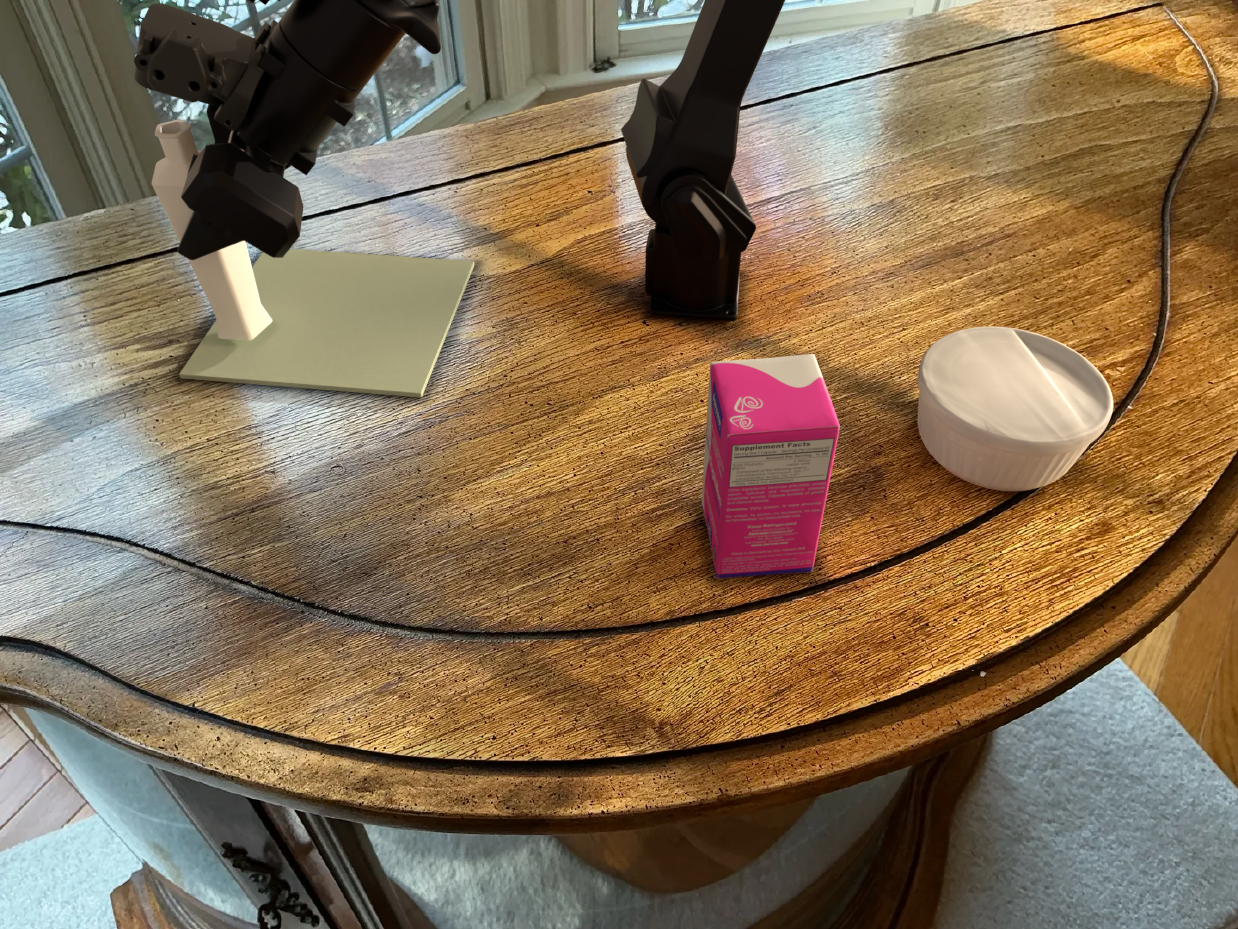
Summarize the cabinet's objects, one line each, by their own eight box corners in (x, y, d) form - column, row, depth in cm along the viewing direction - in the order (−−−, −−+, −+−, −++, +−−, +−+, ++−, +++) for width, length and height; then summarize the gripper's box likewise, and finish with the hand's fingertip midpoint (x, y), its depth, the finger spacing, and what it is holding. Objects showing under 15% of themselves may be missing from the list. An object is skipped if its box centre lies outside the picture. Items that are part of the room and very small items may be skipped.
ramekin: (1118, 448, 63) (1150, 385, 59) (1021, 536, 57) (1049, 472, 54) (969, 365, 69) (989, 302, 65) (868, 438, 63) (883, 374, 60)
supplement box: (696, 506, 59) (708, 356, 51) (793, 500, 59) (821, 350, 51) (711, 582, 55) (726, 432, 47) (815, 575, 55) (848, 425, 47)
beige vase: (219, 353, 68) (140, 154, 57) (204, 319, 71) (126, 123, 60) (284, 332, 70) (219, 135, 59) (267, 300, 72) (202, 105, 62)
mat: (474, 265, 77) (474, 261, 77) (421, 397, 66) (420, 393, 66) (266, 251, 79) (265, 247, 79) (180, 378, 68) (178, 374, 67)
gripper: (214, -94, 60) (96, 96, 67) (165, 22, 47) (24, 245, 54) (370, 28, 66) (248, 191, 73) (364, 160, 53) (216, 344, 60)
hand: (190, 235), depth 65 cm, fingers closed on beige vase, 4 cm apart
